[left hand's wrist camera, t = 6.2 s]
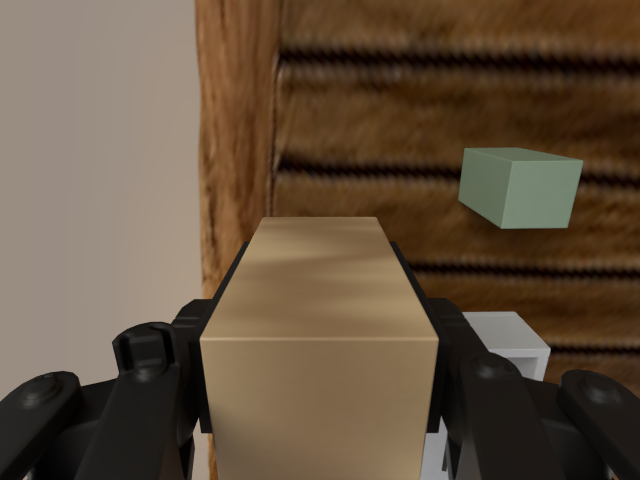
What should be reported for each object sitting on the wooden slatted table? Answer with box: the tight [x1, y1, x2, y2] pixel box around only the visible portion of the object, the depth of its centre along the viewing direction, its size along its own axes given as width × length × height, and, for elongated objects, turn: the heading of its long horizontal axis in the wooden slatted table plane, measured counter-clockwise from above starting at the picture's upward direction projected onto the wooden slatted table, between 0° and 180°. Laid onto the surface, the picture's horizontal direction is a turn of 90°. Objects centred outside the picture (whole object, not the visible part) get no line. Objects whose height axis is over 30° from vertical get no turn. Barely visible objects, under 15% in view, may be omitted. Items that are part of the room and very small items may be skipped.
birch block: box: [200, 217, 439, 480], centre depth 11 cm, size 4×4×8 cm
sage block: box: [458, 148, 583, 229], centre depth 27 cm, size 4×4×8 cm
